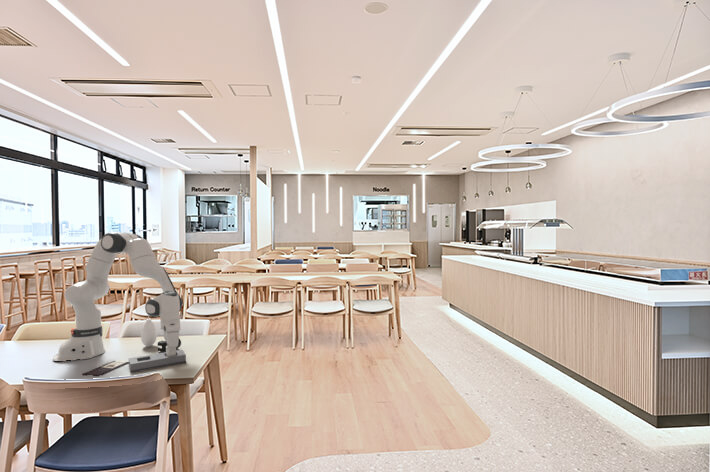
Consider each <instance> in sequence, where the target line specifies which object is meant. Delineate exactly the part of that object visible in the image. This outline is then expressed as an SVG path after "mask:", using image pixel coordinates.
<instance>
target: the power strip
mask: <svg viewBox="0 0 710 472" xmlns="http://www.w3.org/2000/svg"><path fill="white" fill-rule="evenodd" d="M128 362H129V363H128V369H129V373H130V374H132V373H137V372H143V371H149V370H153V369H159V368H164V367H169V366H175V365H180V364H186V363H187V354H186V353H185V352H184V350H183V349H176V355H173V356H167V357H166V352H164V353H158V352H157V353H152V354H148V355H147V354H146V355H141V356H133V357H129V358H128Z"/></svg>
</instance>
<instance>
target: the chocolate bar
mask: <svg viewBox="0 0 710 472" xmlns="http://www.w3.org/2000/svg"><path fill="white" fill-rule="evenodd" d="M126 365H129V361H124V360H123V361H122V360H121V361H120V360H113V361H110V362H107V363H105V364H102V365H101V366H98V367H96V368H93V369H90V370H88V371H85V372H83V373H81V375H82V376H87V375H93V376H92V377H101V376H104V375H106V374H107V373H108V374H109V373H110V372H112V371H115V370H116V369H118V368H121V367H123V366H126ZM100 375H101V376H100Z"/></svg>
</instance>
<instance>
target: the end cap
mask: <svg viewBox="0 0 710 472" xmlns="http://www.w3.org/2000/svg"><path fill="white" fill-rule="evenodd" d="M181 345H182V340H181V339H180V338H179V343H178V347H176V350H179V348H180V347H181ZM157 346H159V347H157V354H158V353H164V352H166V346H167V342H166V341H165V340H159V341H157Z"/></svg>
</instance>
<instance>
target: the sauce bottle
mask: <svg viewBox="0 0 710 472" xmlns="http://www.w3.org/2000/svg"><path fill="white" fill-rule="evenodd" d="M147 316H148V317H147V319H145V322H144V323H143V325H142V327H141V331H140V339H141V343H142V344H143V345H144V346H145V347H147V348H149V347H152V346H153V345H154V344H155V343H156V341H157V337H158V332H157V327H156V325H155V323H154V321H152V319H151V318H150V316H149V315H148V314H147Z"/></svg>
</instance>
